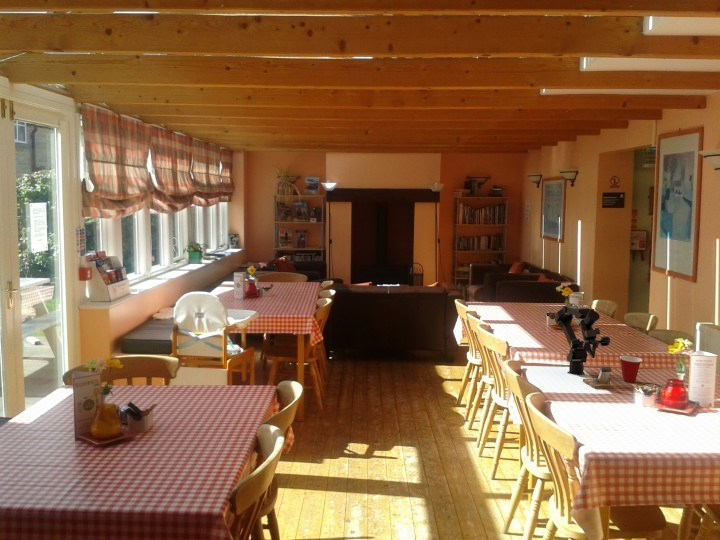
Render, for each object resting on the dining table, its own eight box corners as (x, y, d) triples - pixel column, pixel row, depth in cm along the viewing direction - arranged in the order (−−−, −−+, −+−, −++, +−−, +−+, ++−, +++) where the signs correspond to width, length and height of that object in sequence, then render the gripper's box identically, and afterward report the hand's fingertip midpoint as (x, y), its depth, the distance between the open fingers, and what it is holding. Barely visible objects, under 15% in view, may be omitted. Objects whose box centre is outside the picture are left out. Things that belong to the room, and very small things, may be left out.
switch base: (582, 381, 357) (583, 373, 357) (600, 381, 358) (600, 373, 357) (594, 388, 342) (595, 380, 341) (613, 389, 342) (613, 380, 342)
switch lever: (596, 381, 346) (600, 366, 340) (605, 381, 346) (610, 366, 341) (597, 384, 344) (602, 369, 339) (606, 384, 345) (611, 369, 339)
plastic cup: (630, 384, 354) (631, 360, 353) (613, 379, 364) (614, 356, 363) (645, 382, 359) (647, 358, 358) (628, 378, 369) (630, 355, 368)
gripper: (570, 324, 359) (576, 352, 351) (608, 320, 358) (615, 349, 349) (568, 334, 369) (573, 362, 360) (605, 331, 367) (612, 358, 358)
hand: (593, 357), depth 357 cm, fingers closed
